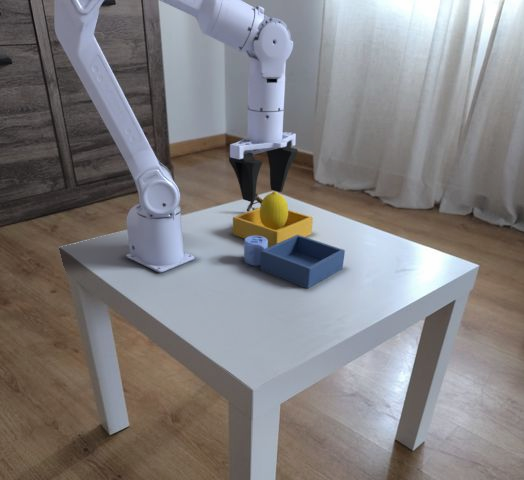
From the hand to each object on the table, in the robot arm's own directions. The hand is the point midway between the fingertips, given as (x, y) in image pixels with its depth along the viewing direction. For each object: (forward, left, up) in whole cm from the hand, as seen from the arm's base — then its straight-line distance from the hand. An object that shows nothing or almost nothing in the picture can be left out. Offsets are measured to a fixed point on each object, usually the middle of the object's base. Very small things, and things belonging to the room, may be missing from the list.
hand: (262, 195), depth 85 cm
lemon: (-4, +8, -10) cm, 13 cm away
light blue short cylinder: (+2, -4, -11) cm, 11 cm away
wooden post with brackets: (-12, +15, -11) cm, 22 cm away
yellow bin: (-4, +8, -10) cm, 14 cm away
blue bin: (+10, -1, -10) cm, 14 cm away
